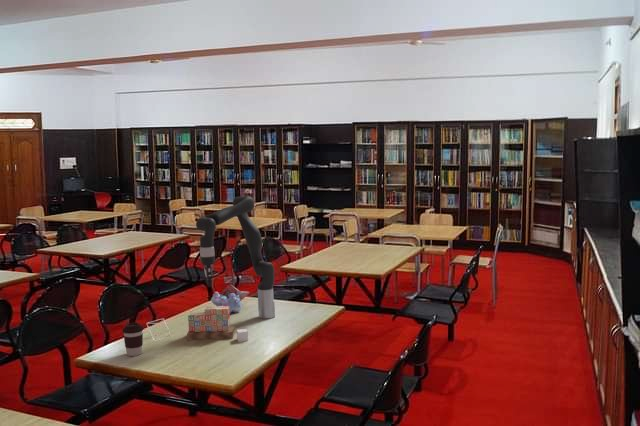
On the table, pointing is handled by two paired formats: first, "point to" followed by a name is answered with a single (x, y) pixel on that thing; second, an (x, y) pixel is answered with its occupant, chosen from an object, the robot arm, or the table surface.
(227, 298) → the lumpy periwinkle toy figure
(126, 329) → the coffee cup
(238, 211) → the robot arm
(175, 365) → the table surface
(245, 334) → the pale grey cube
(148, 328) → the geometric polyhedron
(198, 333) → the walnut plinth
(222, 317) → the stack of blocks
